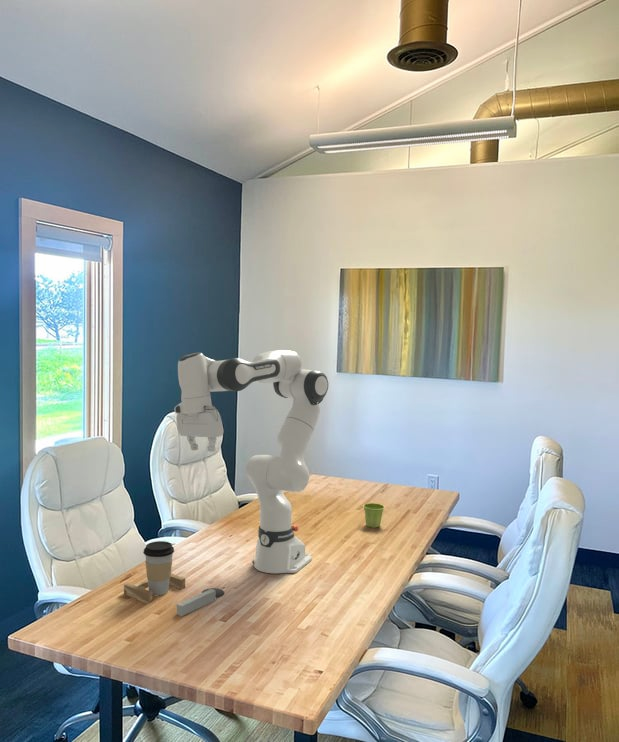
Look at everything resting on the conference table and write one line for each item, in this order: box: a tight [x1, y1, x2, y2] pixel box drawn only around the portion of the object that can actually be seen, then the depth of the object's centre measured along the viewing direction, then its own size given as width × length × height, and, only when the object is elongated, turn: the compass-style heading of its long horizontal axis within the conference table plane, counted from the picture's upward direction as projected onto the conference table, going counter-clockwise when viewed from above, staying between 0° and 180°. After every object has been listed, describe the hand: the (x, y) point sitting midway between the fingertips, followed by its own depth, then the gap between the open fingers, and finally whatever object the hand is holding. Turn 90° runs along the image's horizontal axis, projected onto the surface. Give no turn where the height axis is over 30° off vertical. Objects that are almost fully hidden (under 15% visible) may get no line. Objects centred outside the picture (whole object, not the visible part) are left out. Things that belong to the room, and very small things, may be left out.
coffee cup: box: [142, 540, 175, 597], centre depth 195 cm, size 9×9×15 cm
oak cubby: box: [123, 572, 186, 605], centre depth 196 cm, size 15×11×3 cm
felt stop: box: [176, 588, 216, 617], centre depth 186 cm, size 14×2×3 cm, turn 145°
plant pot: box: [362, 502, 386, 528], centre depth 269 cm, size 9×9×9 cm
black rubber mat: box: [201, 587, 225, 598], centre depth 196 cm, size 7×7×1 cm
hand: (203, 450), depth 190 cm, fingers open, 8 cm apart
